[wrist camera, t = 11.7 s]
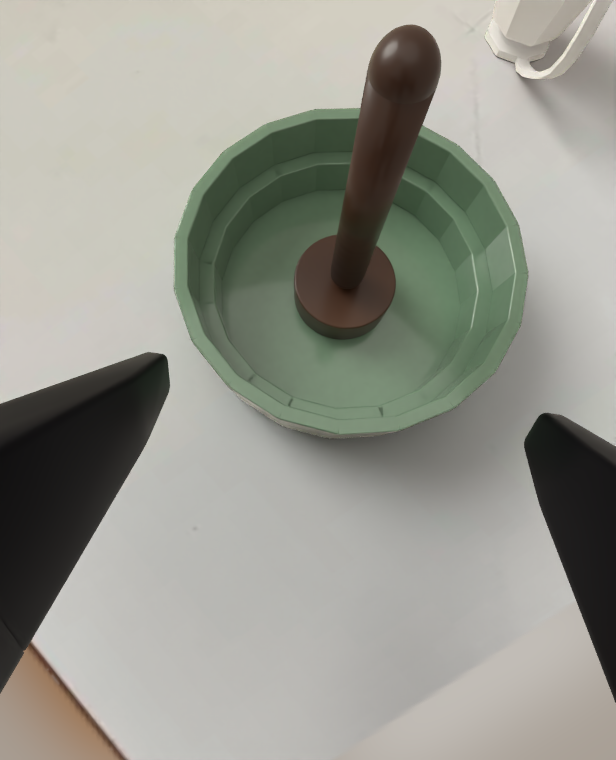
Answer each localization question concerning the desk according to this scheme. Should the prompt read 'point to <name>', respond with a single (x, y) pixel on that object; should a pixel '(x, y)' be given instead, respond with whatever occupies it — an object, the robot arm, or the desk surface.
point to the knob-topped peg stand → (370, 191)
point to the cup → (541, 31)
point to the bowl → (397, 240)
